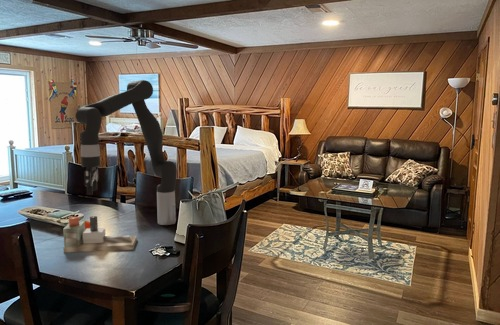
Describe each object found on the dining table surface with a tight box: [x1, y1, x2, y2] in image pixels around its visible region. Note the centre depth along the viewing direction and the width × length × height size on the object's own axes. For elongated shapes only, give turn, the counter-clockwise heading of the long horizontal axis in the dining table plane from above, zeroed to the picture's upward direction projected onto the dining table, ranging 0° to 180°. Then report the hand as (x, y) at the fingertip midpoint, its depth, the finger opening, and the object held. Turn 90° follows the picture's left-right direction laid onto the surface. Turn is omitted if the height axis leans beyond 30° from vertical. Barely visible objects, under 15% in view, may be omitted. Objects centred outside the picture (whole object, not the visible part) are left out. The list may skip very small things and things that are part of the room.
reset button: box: [68, 216, 80, 226], centre depth 164 cm, size 4×4×3 cm
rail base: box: [62, 220, 138, 253], centre depth 167 cm, size 28×12×10 cm, turn 99°
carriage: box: [83, 215, 106, 244], centre depth 166 cm, size 8×6×11 cm
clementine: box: [84, 220, 90, 229], centre depth 181 cm, size 8×7×7 cm
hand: (92, 192), depth 164 cm, fingers open, 8 cm apart
